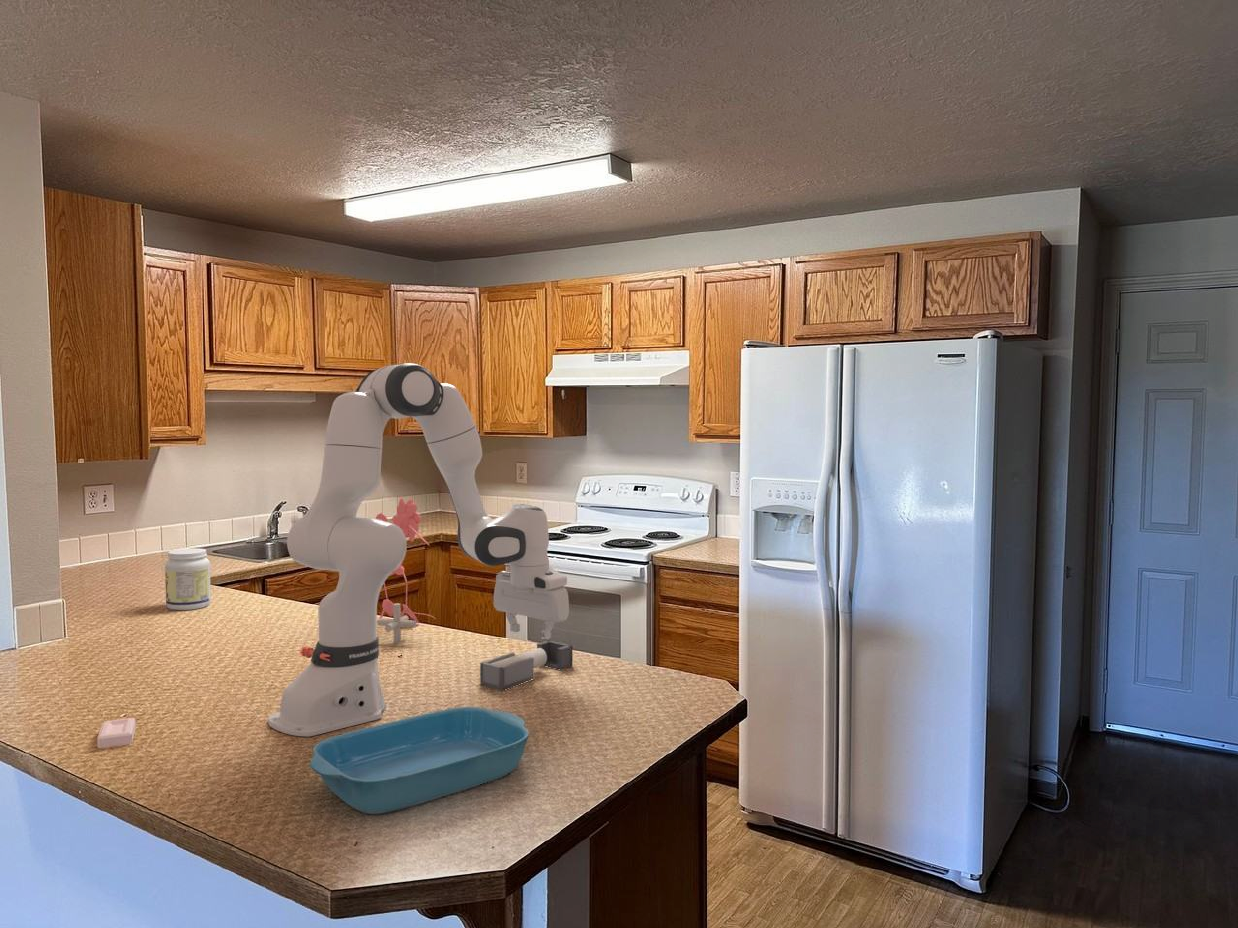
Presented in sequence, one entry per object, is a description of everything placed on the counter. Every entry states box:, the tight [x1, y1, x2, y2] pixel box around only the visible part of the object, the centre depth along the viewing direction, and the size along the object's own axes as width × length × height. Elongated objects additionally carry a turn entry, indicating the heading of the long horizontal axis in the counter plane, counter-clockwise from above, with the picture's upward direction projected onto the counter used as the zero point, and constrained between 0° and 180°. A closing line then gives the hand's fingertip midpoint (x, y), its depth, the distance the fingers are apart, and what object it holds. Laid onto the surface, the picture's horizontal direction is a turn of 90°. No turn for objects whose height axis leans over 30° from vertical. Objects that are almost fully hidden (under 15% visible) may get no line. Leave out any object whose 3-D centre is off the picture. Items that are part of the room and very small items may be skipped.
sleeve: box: [479, 652, 535, 692], centre depth 193 cm, size 10×7×5 cm, turn 143°
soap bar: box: [96, 717, 137, 749], centre depth 160 cm, size 5×9×2 cm, turn 25°
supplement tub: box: [164, 547, 212, 611], centre depth 262 cm, size 12×12×17 cm
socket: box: [536, 639, 574, 671], centre depth 206 cm, size 4×8×5 cm, turn 53°
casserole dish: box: [309, 706, 530, 815], centre depth 143 cm, size 37×22×7 cm, turn 131°
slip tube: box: [491, 647, 547, 669], centre depth 196 cm, size 15×4×4 cm, turn 143°
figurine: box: [375, 497, 437, 631], centre depth 247 cm, size 15×26×35 cm, turn 47°
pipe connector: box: [377, 602, 418, 644], centre depth 225 cm, size 10×10×10 cm
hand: (530, 634), depth 199 cm, fingers open, 8 cm apart
